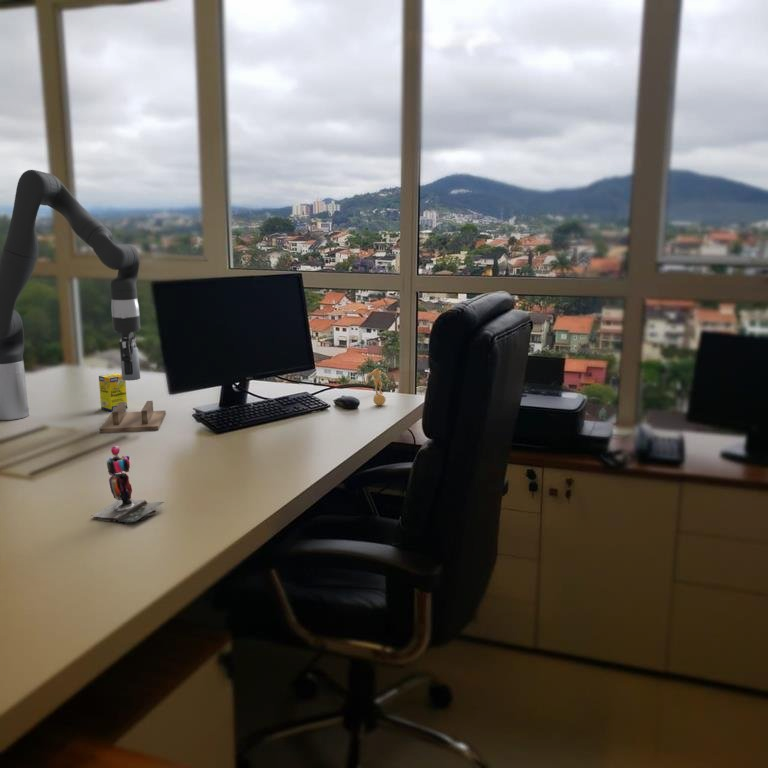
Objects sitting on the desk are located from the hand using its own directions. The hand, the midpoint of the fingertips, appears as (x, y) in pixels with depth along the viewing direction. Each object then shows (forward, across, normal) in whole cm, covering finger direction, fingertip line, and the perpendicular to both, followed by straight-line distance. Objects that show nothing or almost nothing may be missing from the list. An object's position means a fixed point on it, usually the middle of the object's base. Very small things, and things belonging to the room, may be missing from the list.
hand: (130, 372), depth 215 cm
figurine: (+16, -10, +75) cm, 77 cm away
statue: (+16, +72, +10) cm, 74 cm away
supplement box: (+16, -19, -9) cm, 26 cm away
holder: (+15, 0, 0) cm, 15 cm away
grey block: (+2, 0, 0) cm, 2 cm away
